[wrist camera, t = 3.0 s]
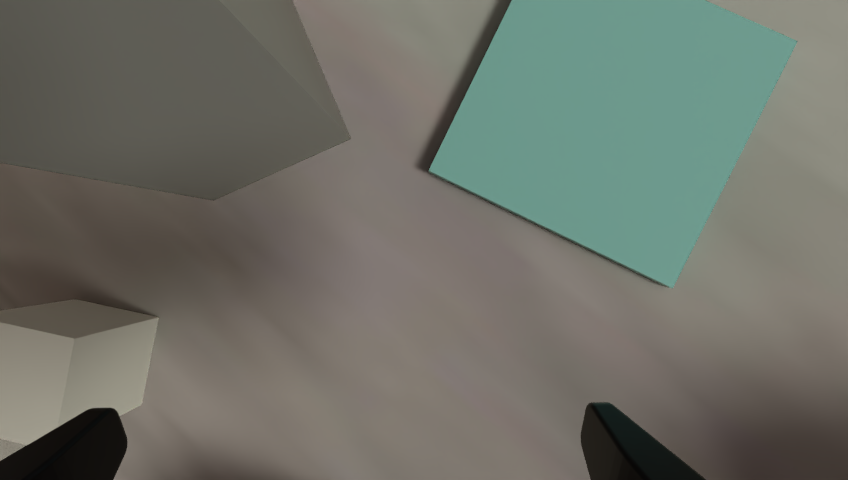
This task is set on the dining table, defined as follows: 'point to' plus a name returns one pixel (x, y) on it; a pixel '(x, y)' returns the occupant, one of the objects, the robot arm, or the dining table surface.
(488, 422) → the dining table surface
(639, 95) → the teal tile
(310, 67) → the perfume bottle
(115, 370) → the grey block
